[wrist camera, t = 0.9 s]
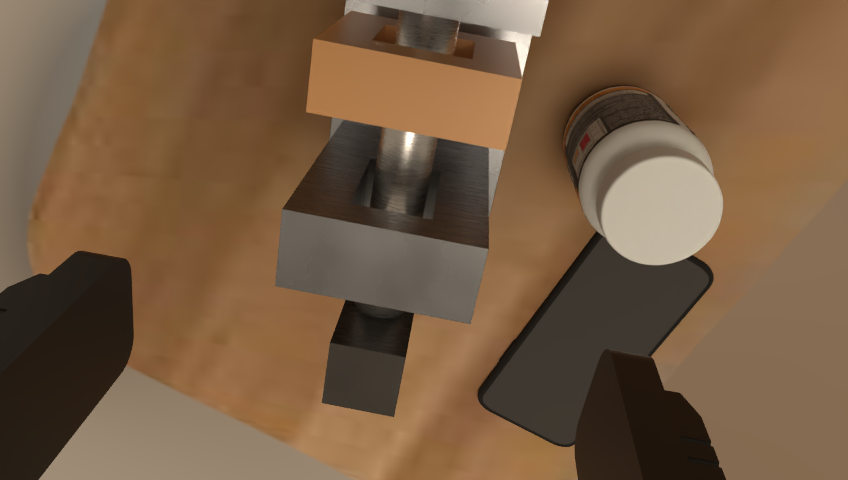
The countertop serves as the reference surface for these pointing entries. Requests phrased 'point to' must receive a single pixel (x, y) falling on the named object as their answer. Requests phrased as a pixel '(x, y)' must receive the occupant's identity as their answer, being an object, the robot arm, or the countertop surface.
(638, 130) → the pill bottle
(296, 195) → the bearing bracket
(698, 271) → the smartphone
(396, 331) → the shaft
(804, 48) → the countertop surface
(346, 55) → the spacer
